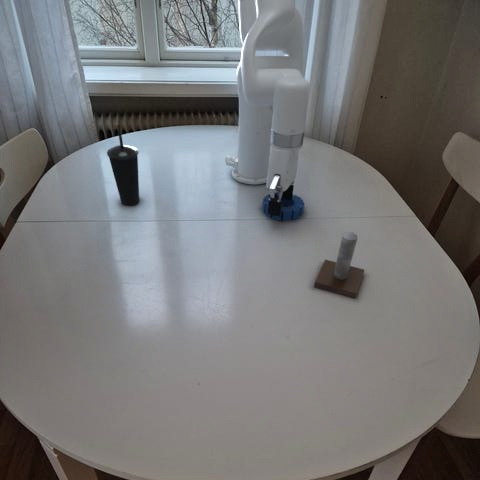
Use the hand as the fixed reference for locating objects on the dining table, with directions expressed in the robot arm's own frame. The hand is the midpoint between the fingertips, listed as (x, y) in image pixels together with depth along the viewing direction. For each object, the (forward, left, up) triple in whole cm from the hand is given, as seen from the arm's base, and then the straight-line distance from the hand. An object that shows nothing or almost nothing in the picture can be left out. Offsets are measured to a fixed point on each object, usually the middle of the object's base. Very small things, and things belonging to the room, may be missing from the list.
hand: (280, 206), depth 110 cm
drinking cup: (-40, -9, -4) cm, 41 cm away
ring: (-1, +5, -4) cm, 6 cm away
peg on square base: (+20, -19, -4) cm, 28 cm away
